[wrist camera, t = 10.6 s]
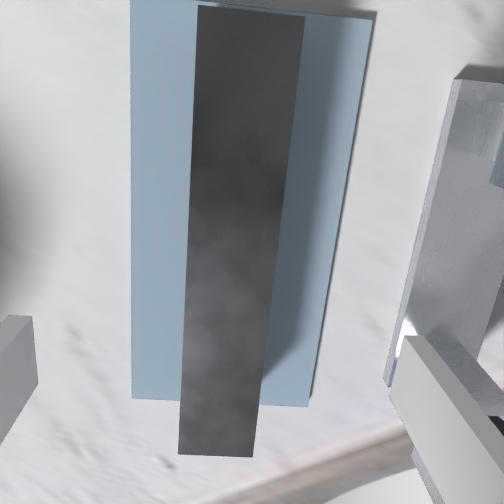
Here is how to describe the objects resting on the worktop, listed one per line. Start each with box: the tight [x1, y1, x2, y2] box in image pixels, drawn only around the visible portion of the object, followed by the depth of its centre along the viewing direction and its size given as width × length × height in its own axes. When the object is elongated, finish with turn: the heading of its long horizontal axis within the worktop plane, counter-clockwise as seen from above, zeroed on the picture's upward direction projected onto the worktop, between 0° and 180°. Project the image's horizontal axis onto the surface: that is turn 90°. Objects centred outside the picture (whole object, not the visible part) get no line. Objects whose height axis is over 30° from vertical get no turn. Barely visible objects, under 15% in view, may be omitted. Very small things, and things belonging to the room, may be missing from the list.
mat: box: [130, 0, 373, 407], centre depth 29 cm, size 13×26×1 cm, turn 175°
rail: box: [178, 5, 306, 457], centre depth 25 cm, size 24×4×6 cm, turn 175°
